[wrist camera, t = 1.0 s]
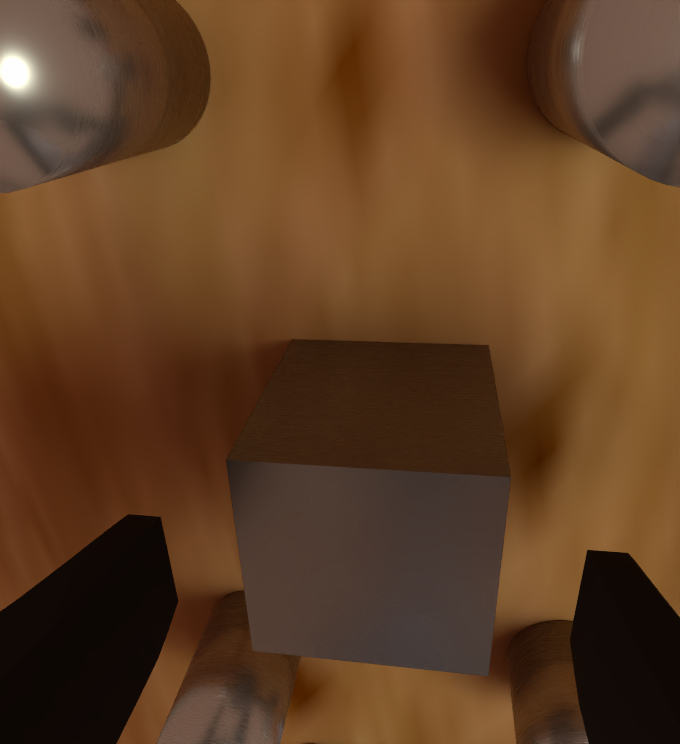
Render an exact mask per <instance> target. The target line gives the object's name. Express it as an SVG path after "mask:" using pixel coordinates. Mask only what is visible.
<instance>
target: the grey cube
mask: <svg viewBox="0 0 680 744" xmlns="http://www.w3.org/2000/svg"><path fill="white" fill-rule="evenodd" d="M226 463H227V470H228V478H229V485H230V492H231V499H232V506H233V513H234V520H235V527H236V535H237V542H238V549H239V556H240V563H241V570H242V577H243V584H244V592H245V599H246V606H247V613H248V620H249V627H250V634H251V641H252V649H253V651H259V652H268V653H278V654H287V655H296V656H305V657H314V658H324V659H333V660H342V661H351V662H361V663H370V664H379V665H388V666H397V667H407V668H416V669H425V670H434V671H444V672H453V673H462V674H471V675H480V676H488V674H489V666H490V657H491V648H492V639H493V630H494V621H495V613H496V604H497V595H498V586H499V577H500V568H501V560H502V551H503V542H504V533H505V524H506V516H507V507H508V498H509V489H510V480H511V475H510V469H509V463H508V457H507V452H506V446H505V440H504V434H503V428H502V422H501V416H500V410H499V404H498V398H497V392H496V386H495V380H494V374H493V368H492V362H491V356H490V350H489V345H464V344H431V343H398V342H365V341H332V340H299V339H292V341H291V343H290V344H289V346H288V348H287V350H286V352H285V353H284V355H283V357H282V359H281V361H280V363H279V364H278V366H277V368H276V370H275V372H274V373H273V375H272V377H271V379H270V381H269V383H268V384H267V386H266V388H265V390H264V392H263V394H262V395H261V397H260V399H259V401H258V403H257V404H256V406H255V408H254V410H253V412H252V414H251V415H250V417H249V419H248V421H247V423H246V424H245V426H244V428H243V430H242V432H241V434H240V435H239V437H238V439H237V441H236V443H235V445H234V446H233V448H232V450H231V452H230V454H229V455H228V457H227V459H226Z"/></svg>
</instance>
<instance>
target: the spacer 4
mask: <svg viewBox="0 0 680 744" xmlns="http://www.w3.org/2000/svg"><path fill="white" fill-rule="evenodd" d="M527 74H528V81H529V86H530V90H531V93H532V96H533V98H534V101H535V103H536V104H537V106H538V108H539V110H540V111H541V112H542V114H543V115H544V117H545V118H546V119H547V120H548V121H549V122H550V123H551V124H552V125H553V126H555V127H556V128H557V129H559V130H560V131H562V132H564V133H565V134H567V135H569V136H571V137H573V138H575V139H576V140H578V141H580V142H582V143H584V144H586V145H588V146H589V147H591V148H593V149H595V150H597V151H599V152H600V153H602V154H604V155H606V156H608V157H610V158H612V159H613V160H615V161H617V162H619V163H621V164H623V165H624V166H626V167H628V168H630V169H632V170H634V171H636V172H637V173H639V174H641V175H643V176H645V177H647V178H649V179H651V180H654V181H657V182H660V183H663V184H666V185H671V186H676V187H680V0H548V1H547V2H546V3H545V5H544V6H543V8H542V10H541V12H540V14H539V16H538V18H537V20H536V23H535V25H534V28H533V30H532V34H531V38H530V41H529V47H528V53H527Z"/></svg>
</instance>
